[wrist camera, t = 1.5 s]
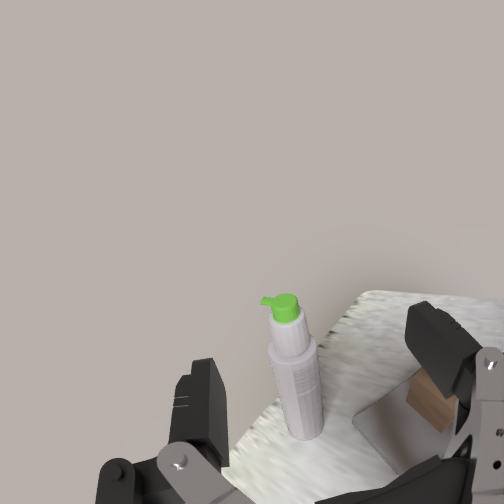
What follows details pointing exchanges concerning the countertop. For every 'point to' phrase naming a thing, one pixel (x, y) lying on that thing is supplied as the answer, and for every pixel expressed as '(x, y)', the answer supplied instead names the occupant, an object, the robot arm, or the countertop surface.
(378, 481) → the countertop surface
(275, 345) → the bottle
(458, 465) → the robot arm
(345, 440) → the countertop surface
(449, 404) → the pedestal stand
